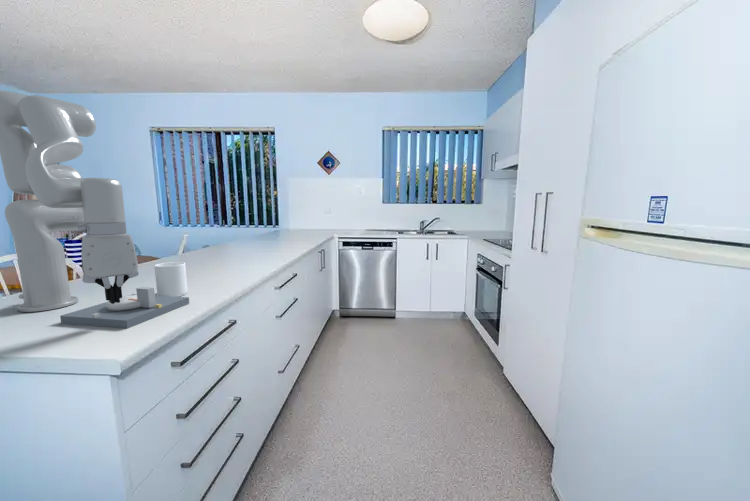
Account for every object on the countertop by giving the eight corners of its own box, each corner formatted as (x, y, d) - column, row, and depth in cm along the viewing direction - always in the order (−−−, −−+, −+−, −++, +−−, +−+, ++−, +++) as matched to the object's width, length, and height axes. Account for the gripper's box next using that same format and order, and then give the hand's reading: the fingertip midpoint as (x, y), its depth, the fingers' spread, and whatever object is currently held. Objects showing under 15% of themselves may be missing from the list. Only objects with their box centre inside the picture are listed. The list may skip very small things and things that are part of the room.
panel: (61, 323, 79) (59, 312, 79) (133, 300, 98) (132, 291, 98) (127, 328, 76) (126, 317, 75) (189, 303, 95) (188, 294, 95)
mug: (176, 289, 112) (173, 260, 111) (192, 294, 105) (190, 263, 104) (148, 294, 105) (145, 263, 104) (164, 300, 98) (161, 267, 97)
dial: (97, 308, 83) (94, 290, 82) (134, 298, 93) (132, 281, 92) (134, 312, 80) (132, 293, 79) (168, 301, 90) (167, 284, 89)
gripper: (65, 232, 67) (76, 313, 70) (148, 229, 79) (154, 298, 81) (61, 230, 72) (71, 305, 75) (139, 227, 83) (145, 293, 86)
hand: (114, 301), depth 78 cm, fingers closed
